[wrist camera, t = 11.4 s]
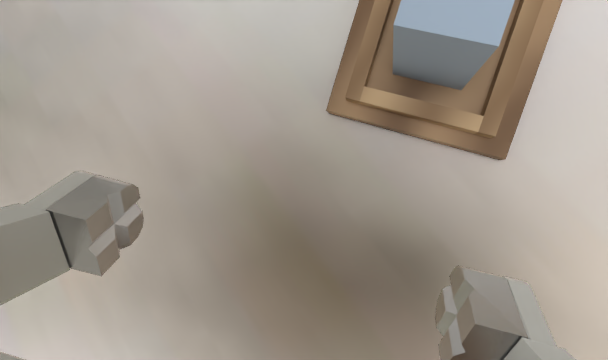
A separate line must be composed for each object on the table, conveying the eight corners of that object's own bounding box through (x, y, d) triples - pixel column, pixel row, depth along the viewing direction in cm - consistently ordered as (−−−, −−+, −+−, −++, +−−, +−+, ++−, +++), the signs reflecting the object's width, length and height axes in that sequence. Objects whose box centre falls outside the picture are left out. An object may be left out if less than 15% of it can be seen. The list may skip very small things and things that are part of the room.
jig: (329, 113, 26) (322, 107, 23) (396, -110, 24) (397, -140, 22) (499, 159, 23) (511, 158, 21) (587, -88, 21) (612, -120, 19)
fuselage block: (392, 74, 23) (393, 24, 16) (416, -1, 23) (429, -90, 15) (461, 90, 22) (498, 46, 14) (487, 12, 22) (540, -76, 14)
